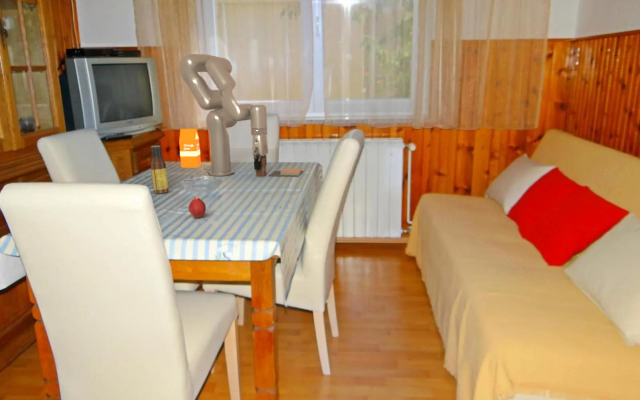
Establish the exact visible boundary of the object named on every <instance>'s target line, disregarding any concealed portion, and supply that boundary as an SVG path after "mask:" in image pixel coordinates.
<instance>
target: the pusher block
mask: <svg viewBox="0 0 640 400" xmlns="http://www.w3.org/2000/svg"><path fill="white" fill-rule="evenodd" d="M258 158H259V157H258ZM260 161H261V170H255V169H254V171H255V177H256V178H258V177H259V178H261V177H262V178H263V177H264V178H265V177H266V176H267V165H266V162H267V156H266V157H265V156H263V157H262V156H261V158H260Z"/></svg>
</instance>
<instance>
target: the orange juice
mask: <svg viewBox="0 0 640 400" xmlns="http://www.w3.org/2000/svg"><path fill="white" fill-rule="evenodd" d="M179 130H180V131H179V140H178V144H179V156H180V166H181V168H199V167H200V166H201V165H202V163H201V146H200V137H199V133H198V130H197V128H180V129H179Z"/></svg>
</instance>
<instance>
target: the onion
mask: <svg viewBox="0 0 640 400" xmlns="http://www.w3.org/2000/svg"><path fill="white" fill-rule="evenodd" d="M206 208H207V207H206V203H205V202H204V201H203V200H202V199H201V198H199V196H197V195H195V196H194V197H193V199H192V200H191V201H190V203H189V205H188V212H189V213H190V214H191V215H192V216H193V217H195V218H196V219H200V218H201V217H202V216H203V215H204V214H205V212H206V210H207V209H206Z"/></svg>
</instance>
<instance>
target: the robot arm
mask: <svg viewBox="0 0 640 400" xmlns="http://www.w3.org/2000/svg"><path fill="white" fill-rule="evenodd" d="M232 70H233V64H232V63H231V61H230V60H228V59H227V58H225V57H220V56H216V55H210V54H204V53H190V54H186V55H184V56H182V58H181V60H180V62H179V73H180V76H181V78H182V80H183V81H184V83H185V84H186V86H187V87H188V89H189V90H190V93H191V95H192V96H193V97H194V100H196V102H197V103H198V105H199V107H200V108H201V109H202V110H204V111H209V112H208V113H207V115H206V118H205V122H206V128H207V131H208V139H209V152H210V153H209V154H210V155H209V156H210V164H209V165H206V164H205V165H203V170H205V171H208V175H209V176H211V177H212V176H213V177H225V176H232V175H233V174H235V170H233V169H232V167H231V164H232V163H231V149H230V148H231V147H230V136H229V132H228V131H227V129H229V128H232V127H234V126H235V125H236V124H238V122H243V121H249V120H250V135H251V136H252V155H253V167H254V168H253V169H254V171H255V170H261V161H260V158H261V156H262V157H263V156H265V157H266V158H267V155H268V153H269V147H268V146H269V145H268V122H267V121H268V115H267V107H266V105H265V104H251V103H242V104H239V103H238V102H237V100H236V98H235V97H234V94H233V89H234V88H235V87H236V85H237V84H236V81H235V79H234V78H233V76H232V75H231V73H232V72H233V71H232ZM199 73H207V74H208V76H209V77H210V78H211V80H212V82H213V83H214V85H215V86H216V88H217V89H211V88H210V87H209V85H208V83H207V81H206V80H205V79H204V77H202V76H201V75H200V74H199ZM258 157H259V158H258ZM266 166H267V161H266Z"/></svg>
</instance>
